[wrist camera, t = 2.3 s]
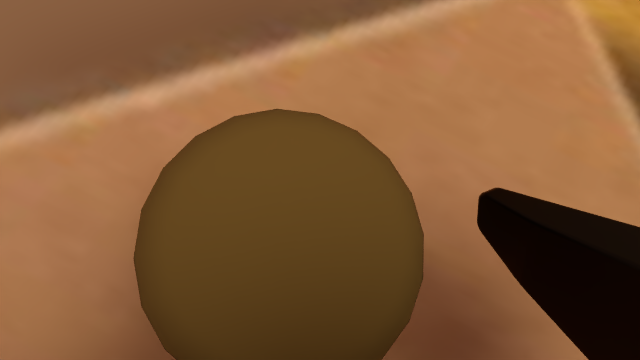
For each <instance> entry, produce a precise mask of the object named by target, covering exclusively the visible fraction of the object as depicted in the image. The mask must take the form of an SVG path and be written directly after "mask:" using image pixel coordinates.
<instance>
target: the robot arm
mask: <svg viewBox="0 0 640 360" xmlns="http://www.w3.org/2000/svg"><path fill="white" fill-rule="evenodd" d="M477 223H478V227H479V229H480V231H481V233H482V234H483V235H484V237H485V238H486V239H487V241H488V242H489V243H490V245H491V246H492V247H493V249H494V250H495V251H496V253H497V254H498V255H499V257H500V258H501V260H502V261H503V262H504V264H505V265H506V266H507V268H508V269H509V270H510V272H511V273H512V274H513V276H514V277H515V278H516V280H517V281H518V282H519V283H520V285H521V286H522V287H523V288H524V289H525V290H526V291H527V293H528V294H529V295H530V296H531V297H532V298H533V299H534V300H535V301H536V303H537V304H538V305H539V306H540V307H541V308H542V309H543V310H544V311H545V312H546V313H547V315H548V316H549V317H550V318H551V319H552V320H553V321H554V322H555V323H556V324H557V326H558V327H559V328H560V329H561V330H562V331H563V332H564V333H565V334H566V335H567V336H568V338H569V339H570V340H571V341H572V342H573V343H574V344H575V345H576V346H577V347H578V349H579V350H580V351H581V352H582V353H583V354H584V355H585V356H586V357H587V358H588V359H589V360H640V227H637V226H634V225H630V224H626V223H623V222H619V221H616V220H612V219H609V218H605V217H602V216H598V215H594V214H591V213H587V212H584V211H580V210H577V209H573V208H570V207H566V206H562V205H559V204H555V203H552V202H548V201H545V200H541V199H538V198H534V197H530V196H527V195H523V194H520V193H516V192H513V191H509V190H505V189H502V188H493V189H491V190H488V191H486V192H483V193H482V194H481V195H480V196H479V201H478V215H477Z"/></svg>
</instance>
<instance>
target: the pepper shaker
mask: <svg viewBox="0 0 640 360" xmlns="http://www.w3.org/2000/svg"><path fill="white" fill-rule="evenodd" d="M423 242H424V234H423V231H422V227H421V224H420V220H419V217H418V213H417V210H416V207H415V203H414V200H413V196H412V193H411V192H410V190H409V188H408V187H407V185H406V184H405V182H404V181H403V179H402V178H401V176H400V175H399V173H398V171H397V170H396V168H395V167H394V165H393V164H392V162H391V161H390V159H389V158H388V157H387V156H386V155H385V154H384V153H382V152H381V151H380V150H379V149H378V148H377V147H375V146H374V145H373V144H372V143H371V142H370V141H368V140H367V139H366V138H365V137H364V136H362V135H361V134H360V133H359V132H358V131H356V130H354V129H352V128H350V127H347V126H345V125H343V124H340V123H338V122H336V121H334V120H331V119H329V118H327V117H324V116H322V115H320V114H315V113H307V112H299V111H290V110H282V109H273V110H267V111H262V112H256V113H250V114H245V115H239V116H234V117H232V118H230V119H228V120H226V121H224V122H222V123H220V124H219V125H217V126H215V127H213V128H211V129H209V130H207V131H205V132H203V133H201V134H199V135H197V136H195V137H194V138H193V139H192V140H191V141H190V142H189V143H188V144H187V145H186V146H185V147H184V148H183V149H182V150H181V151H180V152H179V153H178V154H177V155H176V156H175V157H174V158H173V159H172V160H171V161H170V162H169V163H168V164H167V165H166V166H165V167H164V168H163V169H162V171H161V173H160V175H159V177H158V179H157V181H156V183H155V185H154V187H153V188H152V190H151V192H150V194H149V196H148V198H147V200H146V202H145V204H144V206H143V208H142V210H141V216H140V222H139V228H138V234H137V240H136V246H135V252H134V265H135V271H136V276H137V282H138V288H139V294H140V300H141V306H142V308H143V310H144V312H145V314H146V316H147V318H148V319H149V321H150V323H151V325H152V327H153V328H154V330H155V332H156V334H157V336H158V338H159V339H160V341H161V343H162V345H163V347H164V349H165V350H166V351H167V352H169V353H170V354H171V355H172V356H173V357H174V358H175V359H176V360H381V359H382V358H383V357H384V356H385V354H386V353H387V351H388V350H389V349H390V347H391V346H392V345H393V343H394V342H395V340H396V339H397V338H398V336H399V335H400V333H401V332H402V331H403V329H404V328H405V326H406V325H407V324H408V322H409V320H410V317H411V314H412V311H413V308H414V305H415V302H416V299H417V295H418V292H419V289H420V286H421V283H422V280H423Z"/></svg>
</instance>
